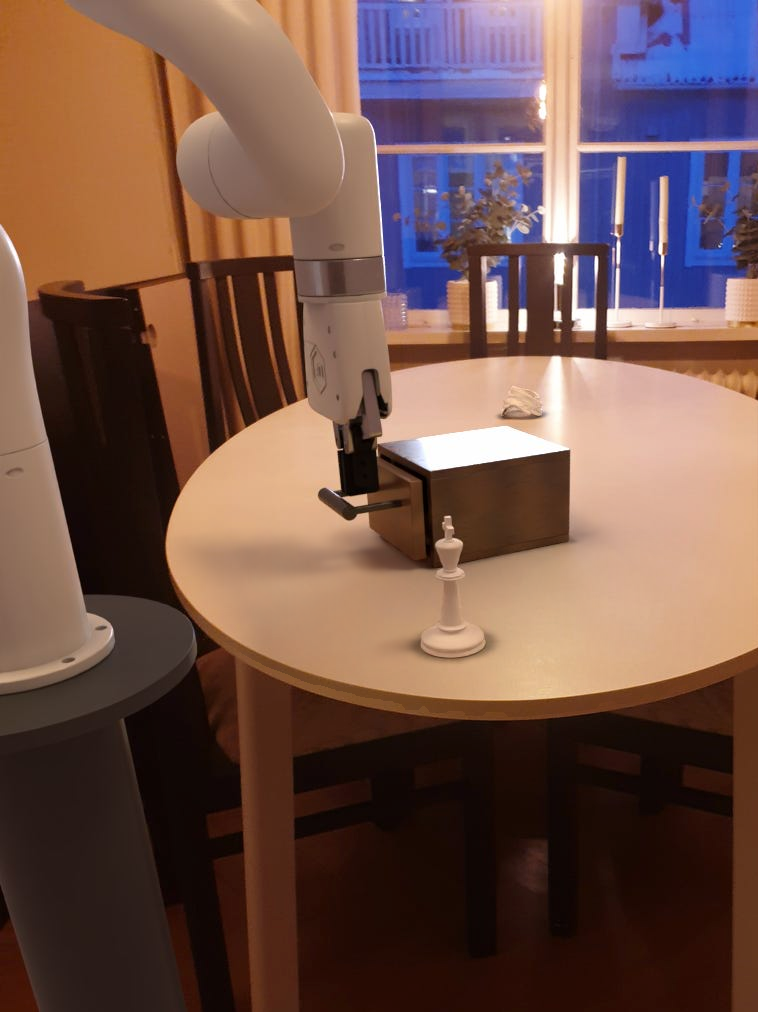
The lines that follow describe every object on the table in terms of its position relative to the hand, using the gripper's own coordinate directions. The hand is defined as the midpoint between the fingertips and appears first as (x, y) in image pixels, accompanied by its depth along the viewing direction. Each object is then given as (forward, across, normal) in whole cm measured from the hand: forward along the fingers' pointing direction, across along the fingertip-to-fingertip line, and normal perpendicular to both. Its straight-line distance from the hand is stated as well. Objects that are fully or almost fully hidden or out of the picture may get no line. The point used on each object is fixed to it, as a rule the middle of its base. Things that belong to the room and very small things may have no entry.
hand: (360, 491), depth 86 cm
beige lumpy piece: (+7, -50, +46) cm, 68 cm away
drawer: (+6, 0, +7) cm, 9 cm away
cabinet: (+6, 0, +12) cm, 13 cm away
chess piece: (+6, +22, -1) cm, 23 cm away
